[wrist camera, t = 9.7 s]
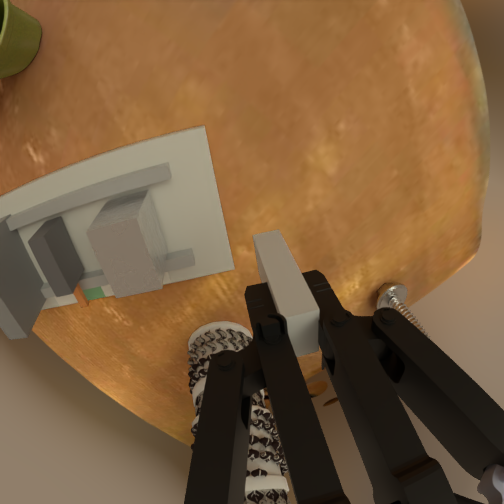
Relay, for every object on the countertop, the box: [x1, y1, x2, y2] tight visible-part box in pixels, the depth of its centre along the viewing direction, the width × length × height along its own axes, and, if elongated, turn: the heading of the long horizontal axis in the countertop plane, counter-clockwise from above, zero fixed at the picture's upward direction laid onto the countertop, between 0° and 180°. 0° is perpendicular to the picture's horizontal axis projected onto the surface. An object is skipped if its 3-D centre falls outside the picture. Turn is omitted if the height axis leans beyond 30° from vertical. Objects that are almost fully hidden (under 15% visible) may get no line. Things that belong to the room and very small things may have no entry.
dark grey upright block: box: [28, 216, 89, 308], centre depth 24 cm, size 9×2×4 cm, turn 9°
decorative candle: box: [187, 321, 291, 504], centre depth 26 cm, size 9×9×25 cm
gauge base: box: [0, 125, 235, 340], centre depth 23 cm, size 14×24×8 cm, turn 99°
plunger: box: [86, 189, 168, 298], centre depth 23 cm, size 6×4×6 cm, turn 9°
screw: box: [376, 283, 430, 339], centre depth 32 cm, size 13×5×5 cm
